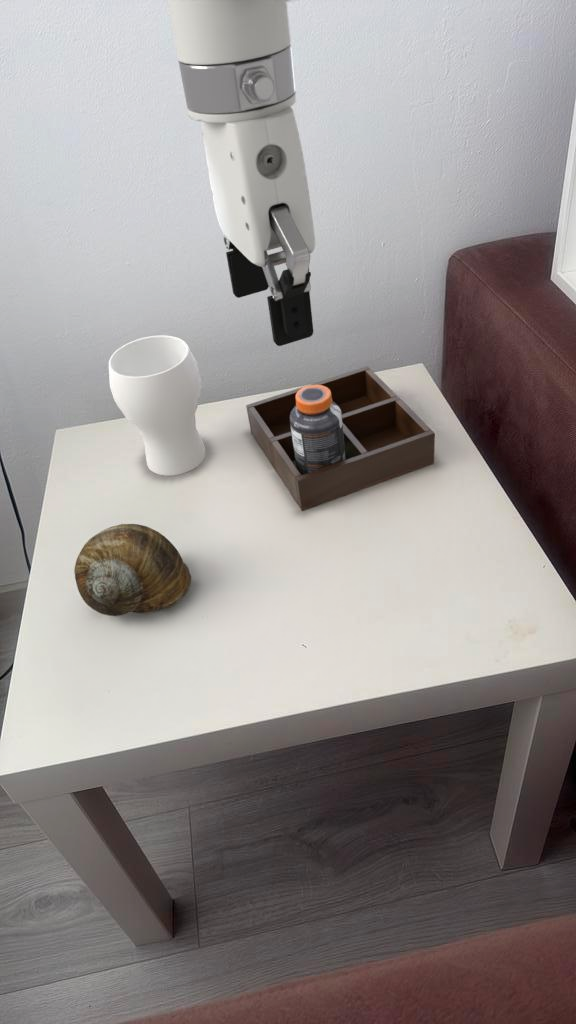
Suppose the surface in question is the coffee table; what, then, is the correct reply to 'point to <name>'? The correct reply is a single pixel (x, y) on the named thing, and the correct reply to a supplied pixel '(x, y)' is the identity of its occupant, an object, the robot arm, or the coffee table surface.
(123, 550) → the seashell
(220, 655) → the coffee table surface
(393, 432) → the compartment tray
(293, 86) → the robot arm
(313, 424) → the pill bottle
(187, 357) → the cup
